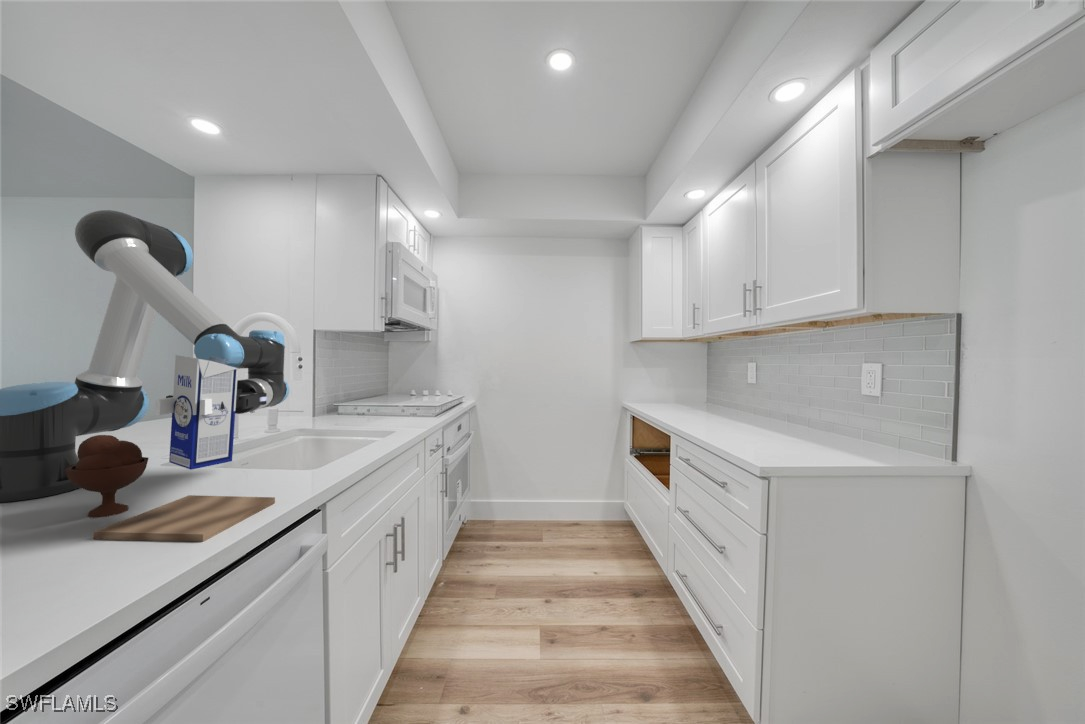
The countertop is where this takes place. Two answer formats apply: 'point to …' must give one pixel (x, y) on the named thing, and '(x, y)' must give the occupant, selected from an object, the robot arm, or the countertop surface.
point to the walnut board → (186, 519)
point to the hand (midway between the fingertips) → (180, 407)
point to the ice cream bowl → (106, 470)
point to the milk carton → (203, 434)
